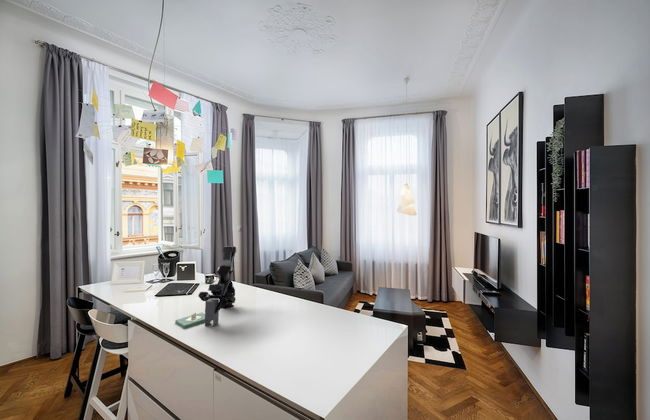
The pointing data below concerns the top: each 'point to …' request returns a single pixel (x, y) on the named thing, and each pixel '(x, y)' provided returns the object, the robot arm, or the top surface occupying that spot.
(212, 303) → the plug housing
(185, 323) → the board
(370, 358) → the top surface
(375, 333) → the top surface
